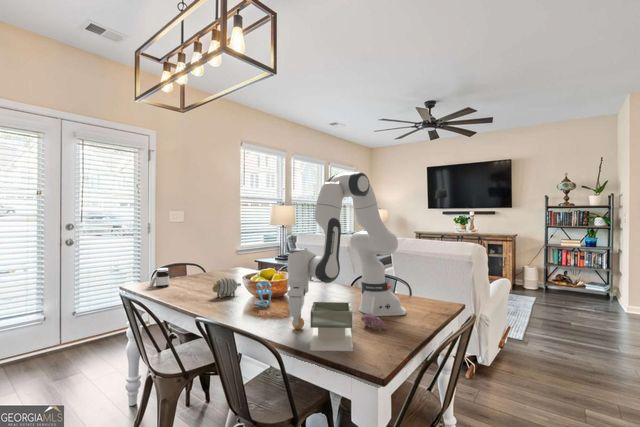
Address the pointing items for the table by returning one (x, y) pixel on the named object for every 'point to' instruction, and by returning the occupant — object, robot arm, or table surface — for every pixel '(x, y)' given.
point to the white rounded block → (160, 278)
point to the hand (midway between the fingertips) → (297, 321)
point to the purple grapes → (373, 321)
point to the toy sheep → (225, 286)
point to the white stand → (331, 339)
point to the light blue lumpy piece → (263, 293)
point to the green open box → (331, 315)
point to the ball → (300, 325)
